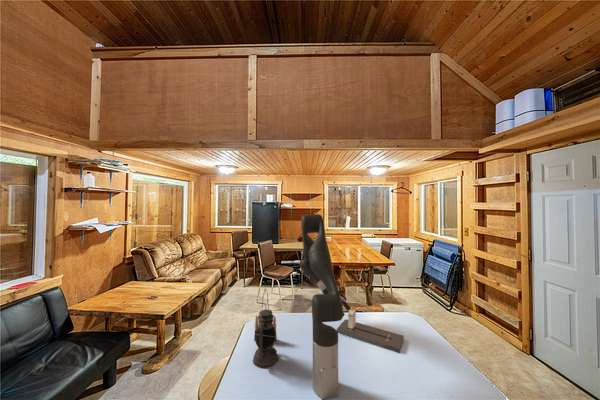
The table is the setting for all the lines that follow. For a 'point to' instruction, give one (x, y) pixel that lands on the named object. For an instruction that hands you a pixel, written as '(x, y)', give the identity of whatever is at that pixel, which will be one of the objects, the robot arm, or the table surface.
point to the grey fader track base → (373, 336)
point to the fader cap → (351, 318)
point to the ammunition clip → (257, 326)
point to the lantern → (265, 339)
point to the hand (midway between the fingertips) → (346, 312)
